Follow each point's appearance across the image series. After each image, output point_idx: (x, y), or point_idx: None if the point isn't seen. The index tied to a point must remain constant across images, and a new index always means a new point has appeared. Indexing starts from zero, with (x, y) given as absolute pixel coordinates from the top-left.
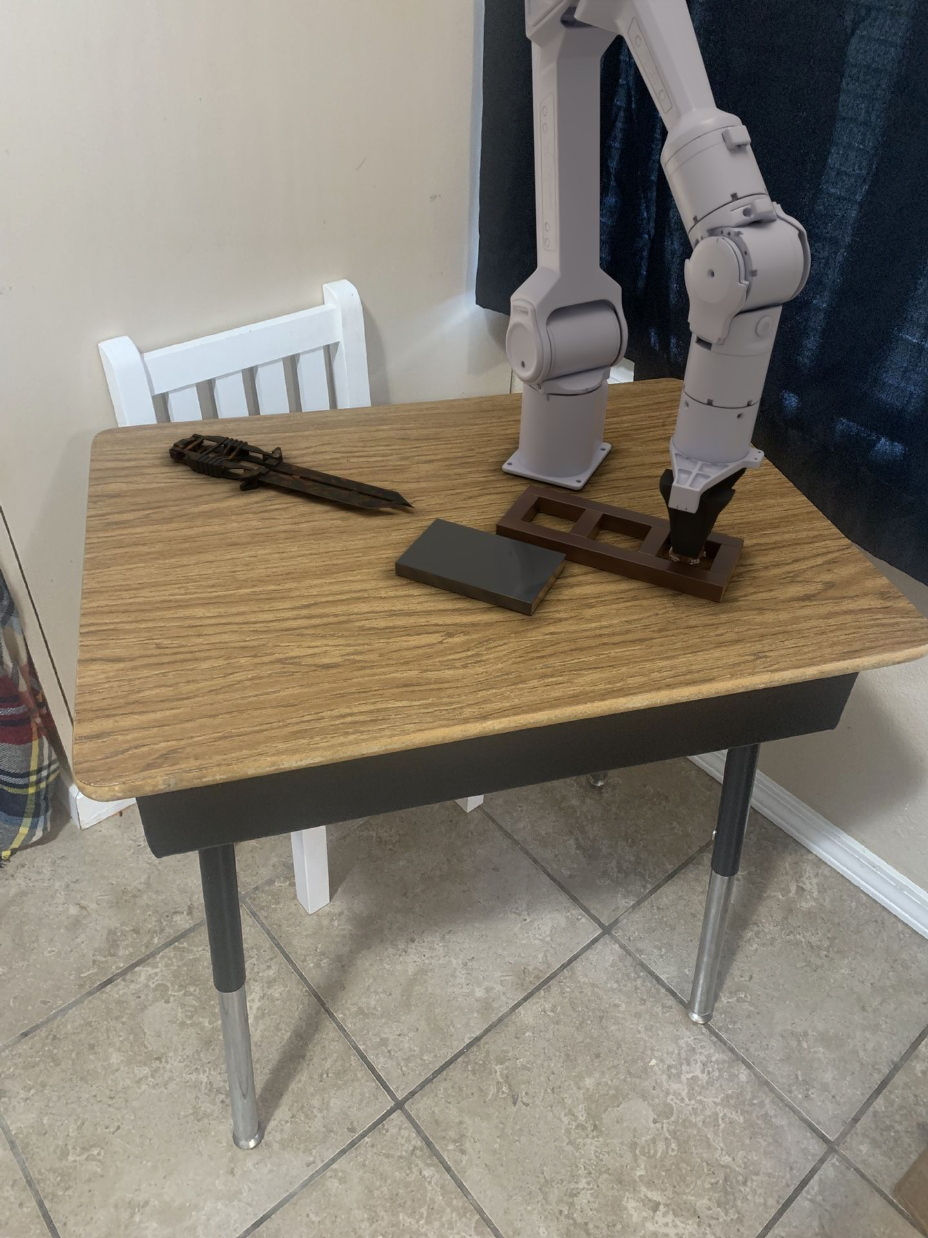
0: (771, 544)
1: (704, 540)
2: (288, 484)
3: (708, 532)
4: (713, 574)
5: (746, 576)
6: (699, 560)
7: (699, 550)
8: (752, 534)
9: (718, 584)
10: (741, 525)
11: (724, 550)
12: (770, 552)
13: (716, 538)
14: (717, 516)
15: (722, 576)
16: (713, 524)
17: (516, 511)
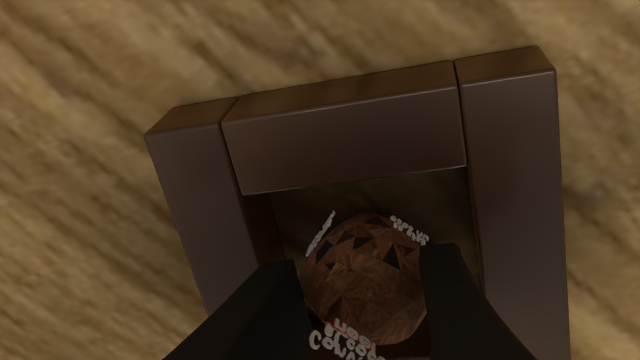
0: (16, 39)
1: (480, 292)
2: None
3: (502, 321)
4: (482, 141)
5: (287, 31)
6: (385, 220)
7: (465, 264)
8: (19, 124)
9: (551, 94)
10: (3, 176)
11: (279, 170)
12: (66, 19)
13: (221, 226)
14: (247, 316)
15: (475, 104)
16: (268, 295)
17: None
